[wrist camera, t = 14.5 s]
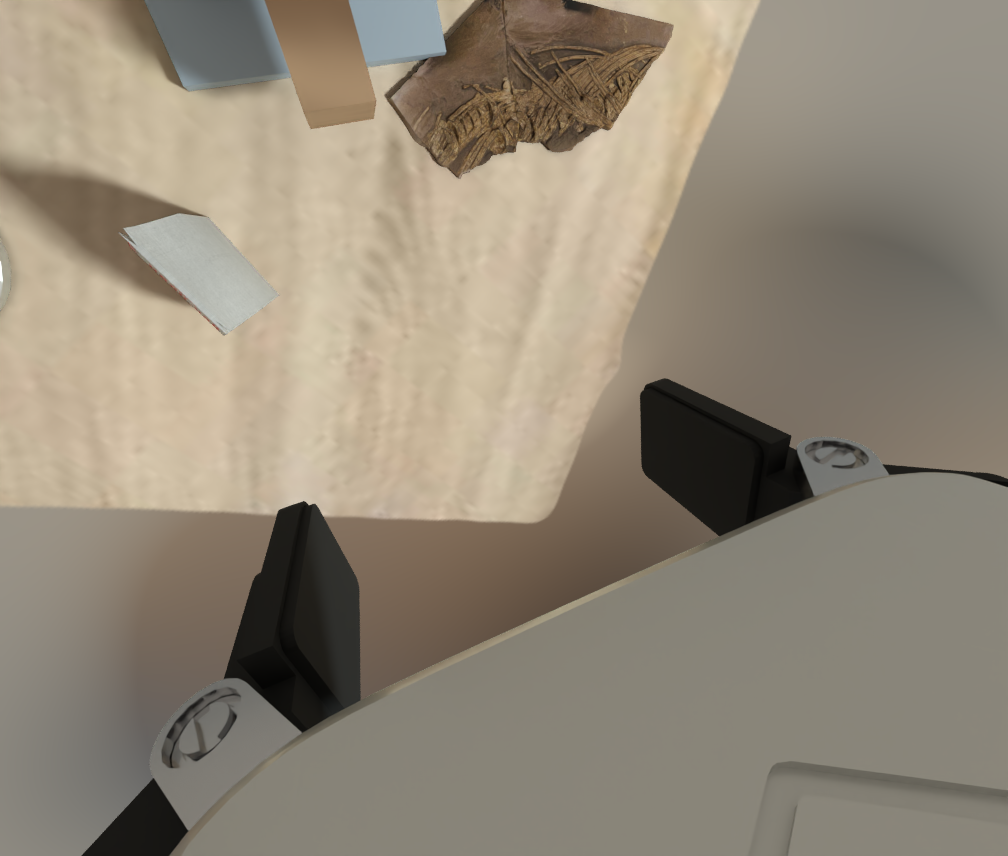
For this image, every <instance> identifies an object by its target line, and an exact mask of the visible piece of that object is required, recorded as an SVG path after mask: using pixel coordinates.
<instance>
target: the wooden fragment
mask: <svg viewBox="0 0 1008 856" xmlns="http://www.w3.org/2000/svg"><path fill="white" fill-rule="evenodd" d="M673 26H674V25H672V24H669V23H664V22H660V21H655V20H652V19H648V18H644V17H639V16H634V15H631V14H625V13H621V12H616V11H612V10H608V9H604V8H600V7H597V6H594V5H591V4H586V3H580V2H577V1H572V0H504V1H503V2H502V0H485V1H483V2H482V4H481V5H480V6H479V7H478V8H477V9H476V10H475V11H474V12H473V13H472V14H471V15H470V16H469V17H468V18H467V19H466V20H465V21H464V22H463V23H462V24H461V26H460V27H459V28H457V30H456V31H455V32H454V33H453V34H452V35H451V36H450V37H449V38H448V39H447V40H446V41H445V47H446V54H445V55H442V56H435V57H430V58H429V59H428V60H427V61H426V62H425V63H424V65H422V67H421V66H420V67H419V69H418V70H417V72H415V73H414V74H413V75H412V76H411V78H410V79H408V80H407V81H406V82H405V83H404V84H403V85H402V87H401V88H400V89H399V90H398V91H397V92H396V93H395V94H394V95H393V96H392V97H391V98H390V99H388V101H389V102H390V104H391V105H392V106H393V107H394V109H395V110H396V112H397V113H398V115H399V116H400V118H401V119H402V121H403V122H404V124H405V125H406V127H407V129H408V131H409V133H410V135H411V136H412V138H413V139H414V140H415V142H417V143H418V144H419V145H421V146H423V147H426V148H427V149H428V150H429V151H430V152H431V154H432V155H433V156H434V157H435V159H436V161H437V163H438V164H439V165H441V166H442V167H447V168H449V169H450V170H451V171H452V172H453V173H454V174H455V175H456V176H457V177H458V178H461V176H462V174H464V173H467V172H470V170H471V169H473V168H474V167H476V166H480V165H483V164H484V163H486V162H487V161H488V160H489V159H490V158H491V156H492V155H497V154H503V153H507V152H516V145H517V141H520V142H527V143H536V142H537V143H539V142H542V144H543V145H545V146H546V147H547V148H549V149H550V150H551V151H552V152H564V151H570V150H572V149H573V147H574V146H575V145H576V144H577V143H579V142H581V141H582V140H583V139H584V138H585V137H587V136H589V135H590V134H591V133H592V132H596V131H597V130H599V129H601V128H603V129H605V130H610V129H611V128H612V126H613V124H614V122H615V121H616V120H617V118H618V116H619V114H620V113H621V111H622V109H623V108H624V107H625V106H626V105H627V104H628V102H629V100H630V98H631V96H632V93H633V91H634V90H635V89H636V87H637V86H638V85H639V84H640V83H641V81H642V80H643V78H644V76H645V74H646V72H647V70H648V69H649V68H650V66H651V64H652V62H653V61H655V60H656V59H658V57H659V56H660V55H661V54H662V53H663V52H664V50H665V47H666V45H667V43H668V42H669V40H670V38H671V36H672V30H673Z"/></svg>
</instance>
